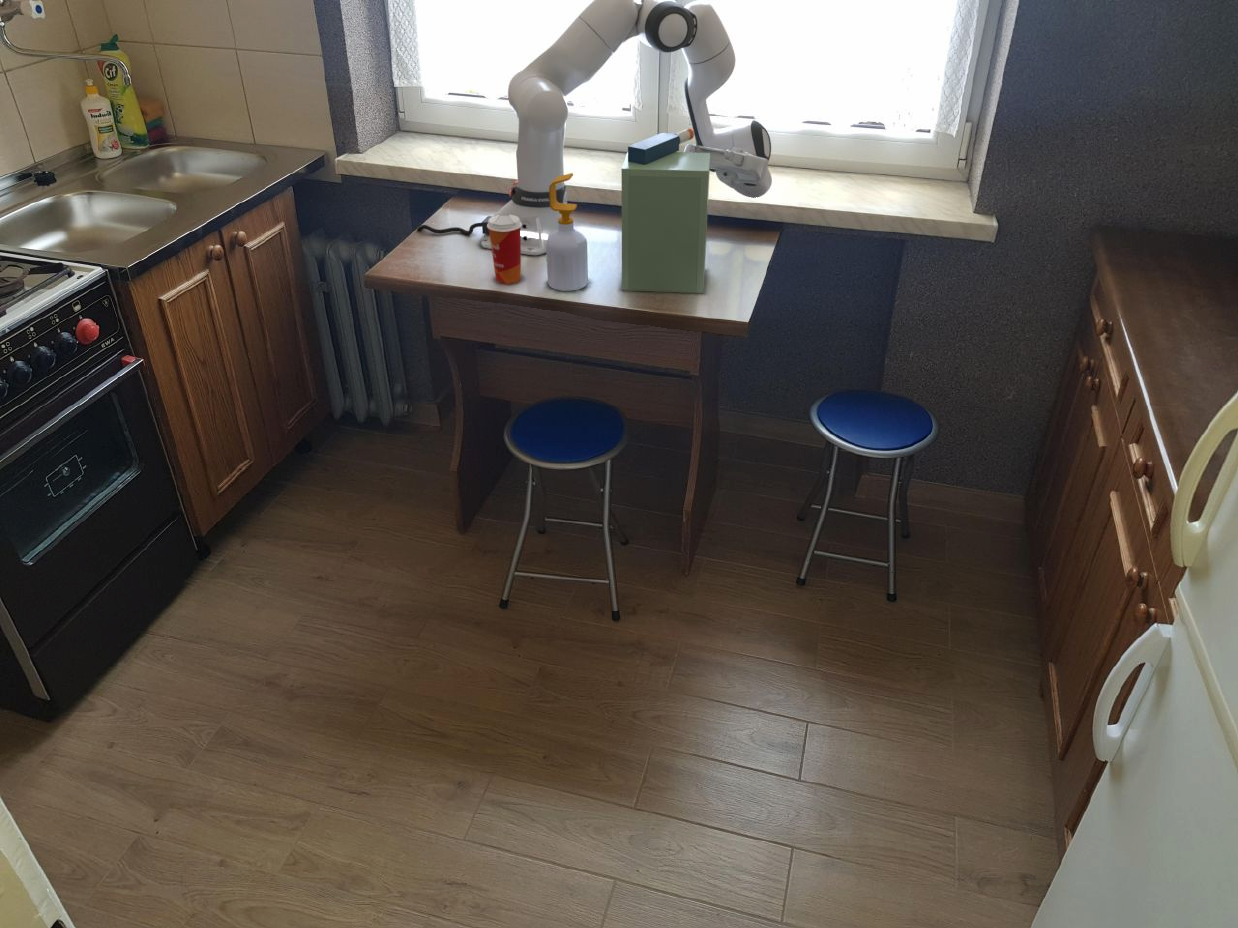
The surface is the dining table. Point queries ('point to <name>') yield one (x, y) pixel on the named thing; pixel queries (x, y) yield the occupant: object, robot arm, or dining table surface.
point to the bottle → (657, 146)
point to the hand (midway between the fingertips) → (709, 150)
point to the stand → (665, 223)
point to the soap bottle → (566, 247)
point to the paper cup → (506, 247)
